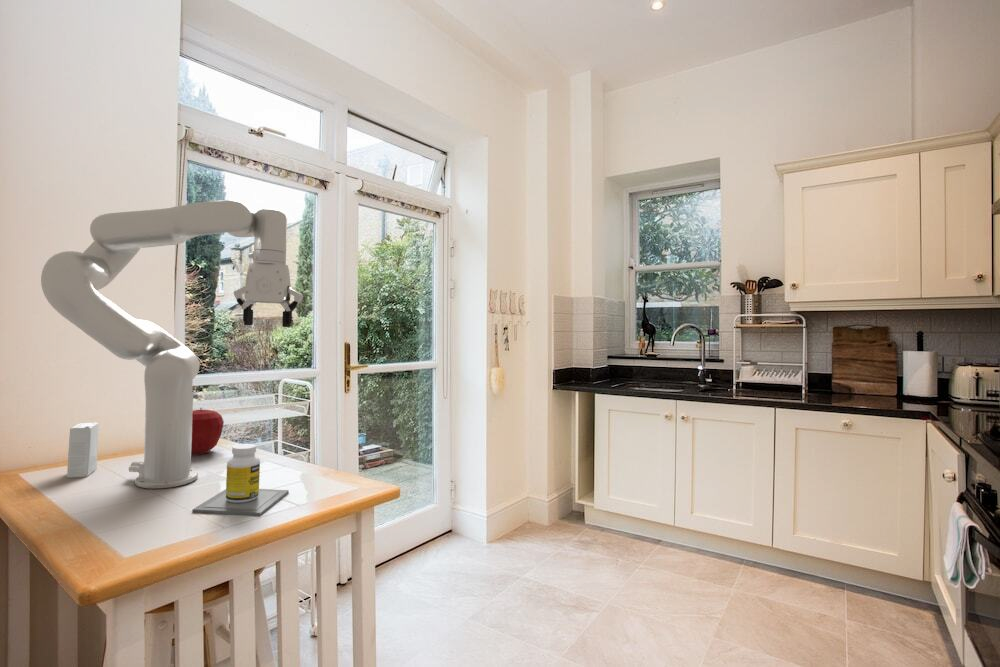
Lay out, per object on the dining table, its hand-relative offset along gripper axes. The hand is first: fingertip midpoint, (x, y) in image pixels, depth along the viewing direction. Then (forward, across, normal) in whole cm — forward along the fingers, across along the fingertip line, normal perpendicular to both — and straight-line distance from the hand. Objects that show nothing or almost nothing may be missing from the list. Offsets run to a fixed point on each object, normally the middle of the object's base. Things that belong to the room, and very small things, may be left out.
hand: (267, 326), depth 130 cm
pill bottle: (+38, +5, -19) cm, 43 cm away
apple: (+38, -26, +17) cm, 49 cm away
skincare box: (+38, -41, -6) cm, 57 cm away
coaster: (+38, +5, -19) cm, 43 cm away
